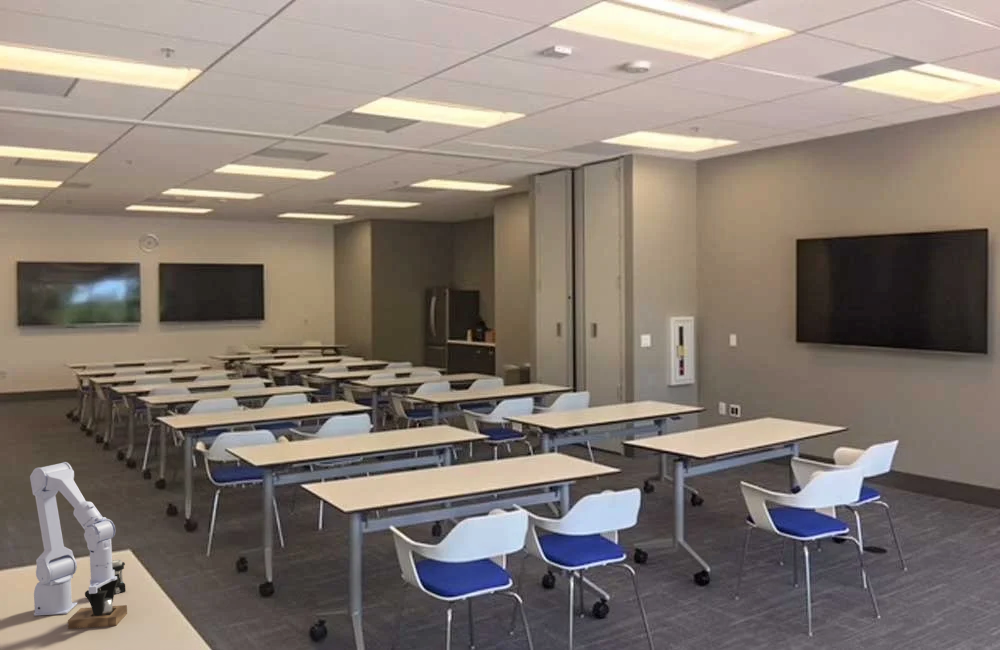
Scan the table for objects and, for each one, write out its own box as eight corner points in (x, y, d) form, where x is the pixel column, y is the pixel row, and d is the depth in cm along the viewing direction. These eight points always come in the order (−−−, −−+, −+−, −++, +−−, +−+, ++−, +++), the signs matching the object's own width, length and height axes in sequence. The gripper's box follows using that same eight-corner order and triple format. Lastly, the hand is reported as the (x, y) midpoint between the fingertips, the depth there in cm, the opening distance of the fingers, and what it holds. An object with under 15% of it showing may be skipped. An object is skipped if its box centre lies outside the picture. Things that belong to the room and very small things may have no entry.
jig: (68, 628, 230) (67, 620, 230) (81, 616, 239) (80, 608, 239) (116, 625, 231) (115, 617, 231) (127, 613, 240) (126, 605, 240)
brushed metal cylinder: (95, 624, 233) (94, 603, 233) (100, 618, 237) (99, 598, 237) (110, 622, 234) (109, 602, 233) (114, 617, 237) (113, 597, 237)
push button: (104, 598, 253) (103, 566, 253) (101, 593, 258) (100, 562, 257) (127, 592, 257) (126, 561, 257) (124, 588, 262) (122, 557, 261)
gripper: (106, 570, 228) (108, 618, 228) (124, 554, 242) (126, 599, 243) (80, 572, 227) (82, 620, 227) (99, 555, 241) (101, 600, 242)
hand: (103, 609), depth 235 cm, fingers open, 7 cm apart
